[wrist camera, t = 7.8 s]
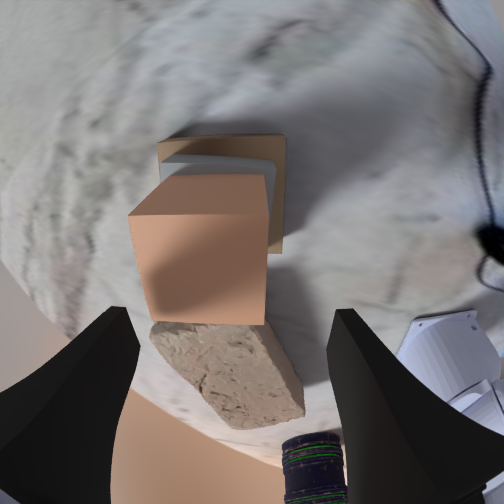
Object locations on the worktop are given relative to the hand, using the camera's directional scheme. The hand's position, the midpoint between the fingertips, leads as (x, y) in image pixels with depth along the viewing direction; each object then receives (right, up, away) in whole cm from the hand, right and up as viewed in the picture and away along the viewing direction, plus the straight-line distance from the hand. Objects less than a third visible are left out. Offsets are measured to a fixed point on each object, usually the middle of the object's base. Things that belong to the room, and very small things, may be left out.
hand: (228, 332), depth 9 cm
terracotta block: (-1, +4, +5) cm, 6 cm away
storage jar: (+10, -29, +28) cm, 42 cm away
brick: (0, -6, +16) cm, 18 cm away
